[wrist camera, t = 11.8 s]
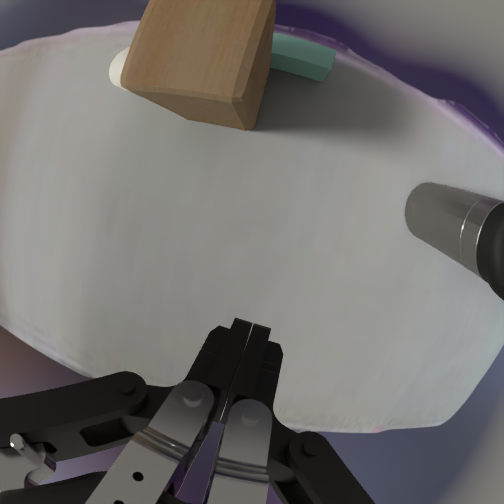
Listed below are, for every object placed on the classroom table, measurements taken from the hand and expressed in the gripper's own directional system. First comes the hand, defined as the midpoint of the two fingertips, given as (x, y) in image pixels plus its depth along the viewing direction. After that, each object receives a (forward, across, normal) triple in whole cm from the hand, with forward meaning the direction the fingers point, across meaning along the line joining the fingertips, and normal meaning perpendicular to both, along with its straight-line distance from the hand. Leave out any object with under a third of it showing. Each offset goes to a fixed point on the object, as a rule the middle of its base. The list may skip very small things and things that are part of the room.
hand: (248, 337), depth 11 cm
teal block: (+30, +12, -18) cm, 37 cm away
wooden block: (+29, +12, -12) cm, 34 cm away
